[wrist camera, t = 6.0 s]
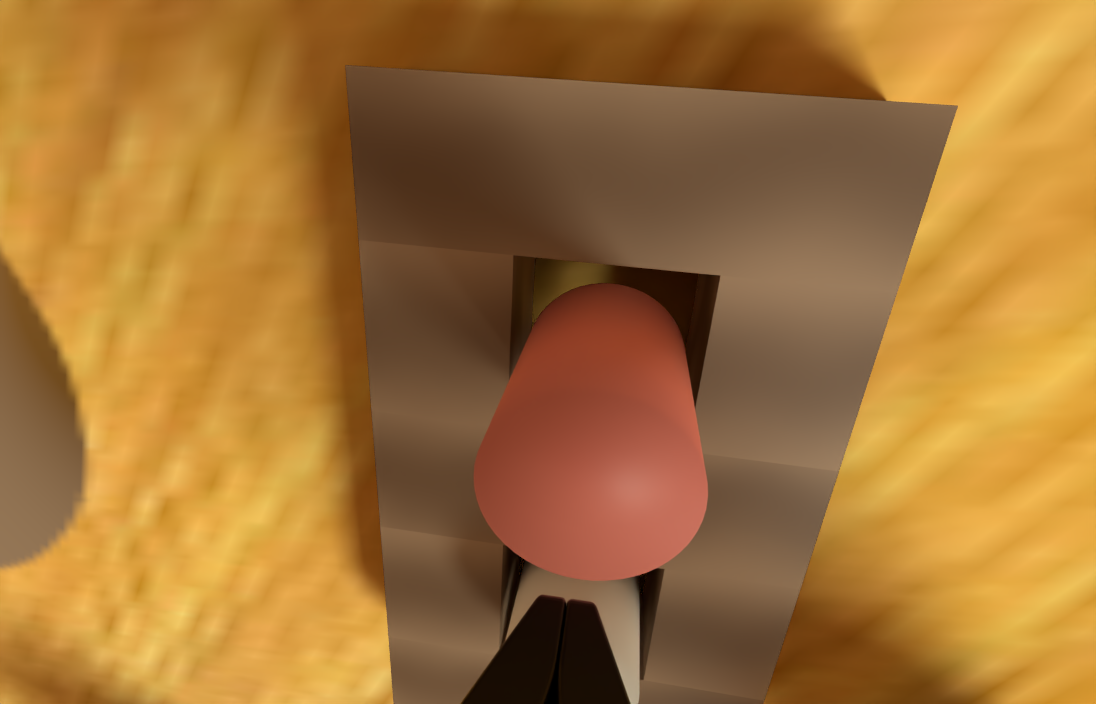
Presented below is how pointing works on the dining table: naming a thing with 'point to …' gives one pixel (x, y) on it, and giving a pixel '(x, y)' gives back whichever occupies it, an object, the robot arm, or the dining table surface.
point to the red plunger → (596, 440)
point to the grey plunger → (614, 607)
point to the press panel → (712, 347)
